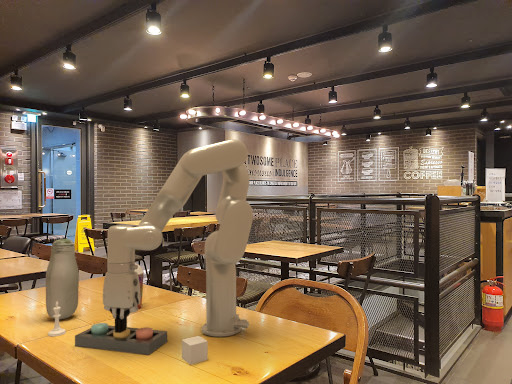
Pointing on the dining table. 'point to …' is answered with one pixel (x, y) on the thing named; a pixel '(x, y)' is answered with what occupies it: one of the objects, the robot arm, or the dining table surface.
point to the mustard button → (122, 333)
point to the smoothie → (140, 282)
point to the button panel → (121, 341)
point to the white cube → (194, 350)
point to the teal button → (99, 329)
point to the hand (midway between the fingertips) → (120, 331)
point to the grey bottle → (62, 279)
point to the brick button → (144, 333)
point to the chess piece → (56, 323)
